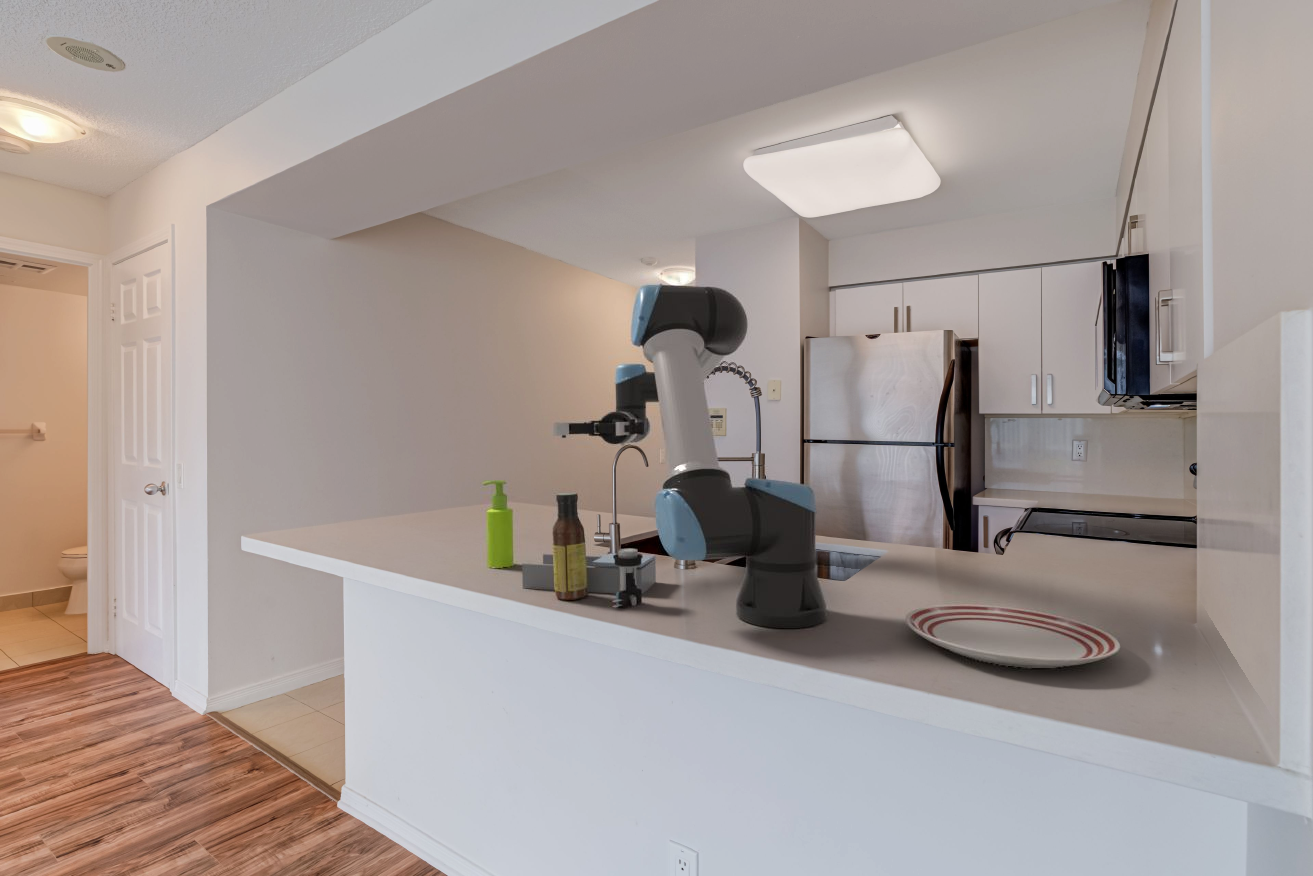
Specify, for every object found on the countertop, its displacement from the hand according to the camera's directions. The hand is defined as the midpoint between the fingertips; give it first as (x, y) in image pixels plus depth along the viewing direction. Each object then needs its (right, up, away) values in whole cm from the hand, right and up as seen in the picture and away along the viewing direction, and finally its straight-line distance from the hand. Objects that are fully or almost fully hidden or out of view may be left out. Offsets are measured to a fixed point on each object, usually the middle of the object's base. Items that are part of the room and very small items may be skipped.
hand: (585, 429), depth 135 cm
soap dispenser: (-23, -32, +20) cm, 44 cm away
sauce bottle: (-2, -32, -9) cm, 34 cm away
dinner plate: (+65, -33, -38) cm, 83 cm away
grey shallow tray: (+1, -32, +1) cm, 32 cm away
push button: (+9, -33, -15) cm, 37 cm away
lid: (+8, -27, -1) cm, 28 cm away
